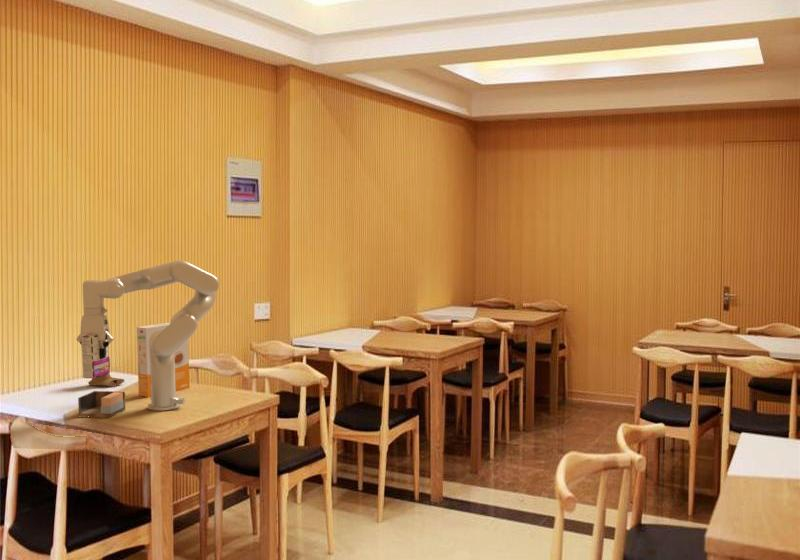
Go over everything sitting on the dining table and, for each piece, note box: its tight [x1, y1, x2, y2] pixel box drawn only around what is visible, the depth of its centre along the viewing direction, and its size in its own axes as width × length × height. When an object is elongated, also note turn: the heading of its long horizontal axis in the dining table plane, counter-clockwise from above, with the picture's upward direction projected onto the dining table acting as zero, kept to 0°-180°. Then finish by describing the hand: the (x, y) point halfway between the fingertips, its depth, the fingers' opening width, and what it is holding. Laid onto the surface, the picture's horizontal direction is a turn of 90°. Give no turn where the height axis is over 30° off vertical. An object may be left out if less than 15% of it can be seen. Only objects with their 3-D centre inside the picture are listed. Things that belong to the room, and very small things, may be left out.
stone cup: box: [87, 357, 125, 387], centre depth 353 cm, size 15×12×15 cm
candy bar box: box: [80, 335, 111, 379], centre depth 299 cm, size 11×5×16 cm, turn 168°
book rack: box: [77, 390, 126, 418], centre depth 301 cm, size 13×12×8 cm
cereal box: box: [136, 322, 190, 398], centre depth 339 cm, size 22×6×30 cm, turn 146°
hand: (95, 357), depth 299 cm, fingers closed on candy bar box, 5 cm apart
